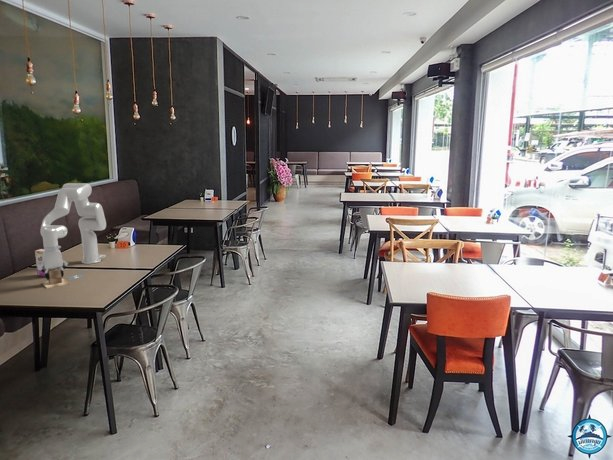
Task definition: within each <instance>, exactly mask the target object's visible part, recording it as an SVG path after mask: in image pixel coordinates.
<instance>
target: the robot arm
mask: <svg viewBox="0 0 613 460" xmlns="http://www.w3.org/2000/svg"><path fill="white" fill-rule="evenodd" d="M92 189H93V188H92V186H91V185H90V183H84V182H82V183H81V182H80V183H79V182H72V183H71V182H69V183H68V182H67V183H64V184H63V186H62V187H61V188H60V189H59V190H58V193H57V197H56V201H55V204H54V208H53V209H52V210H50V212H48V214H47V213H46V215H45V216H44V218H43V219H42V222H41V225H40V235H41V237H42V243H43V249H44V252H43V256H42V258H43V263H42V264H41V265H40V266H39V267H38V269H39V270H41V271H42V272H44V273H45V276H44V278H45V279H46V281H48V280H49V276H48V273H47V272H48V269H51V268H59V269H60V270H61V278H64V275H65V273H64V271H65V269H66V267H67V266H68V265H69V262H67V261H66V260H64V259H63V256H62V252H61V250H60V249H61V248H62V246H61V245H59V241H58V239H62V238H64V237H66V236H67V234H68V228H67V227H66V226H65V225H62V224H60V225H59V224H57V225H53V224H52V223H53V222H54V221H56V220H57V219H60V218H62V217H65V216H67V215H68V214H69V213H70V211H71V206H72V202H74V206H75V209H76V212H77V215H78V216H80V218H79V220H78V221H77V222H78V224H77V225H78V228H79V230H80V231H79V232H80V236H81V237H80V238H81V247H82V248H81V249H82V258H83V259H82V260H81V262H80V263H82V264H85V265H89V264H91V265H92V264H97V263H100V262H101V261H102V258H106V257H107V255H106V254H99V248H98V238H97V234H96V232H95V231H104V230H105V229H106V228H107V220H106V217H105V212H104V209H103V206H102V204H100V203H98V202H90V201H89V197H90V196H91V194H92ZM51 224H52V225H51ZM42 267H44V268H45V270H43V269H42Z"/></svg>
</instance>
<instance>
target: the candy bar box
mask: <svg viewBox="0 0 613 460" xmlns="http://www.w3.org/2000/svg"><path fill="white" fill-rule="evenodd" d="M43 252H44V248H39V249H36V250H34V257H35V264H36V272H37V276H39V277H45V273H44V272H42V271H41V270H39V269H38V267H39V266H40V265H41V264H42V263H43V258H42V256H43ZM42 269H43V270H45V268H44V267H42ZM51 269H53V268H51Z"/></svg>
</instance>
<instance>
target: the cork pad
mask: <svg viewBox="0 0 613 460" xmlns="http://www.w3.org/2000/svg"><path fill="white" fill-rule="evenodd" d="M41 284H42V285H43V286H44V288H45V289H50V288H56V287H62V286H66V285H70V284H69V282H68V281H67V280H66V279H65V278H64V277H62V283H58V284H53V285H51V284H50V283H49V281H48V280H46V281H43V282H41Z"/></svg>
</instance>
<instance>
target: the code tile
mask: <svg viewBox="0 0 613 460" xmlns="http://www.w3.org/2000/svg"><path fill="white" fill-rule="evenodd" d="M66 278H67V279H68V280H69V281H72V280H78V279H82V278H83V279H84V278H86V276H85V275H84V274H82V273H79V274H73V275H68V276H66Z"/></svg>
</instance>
